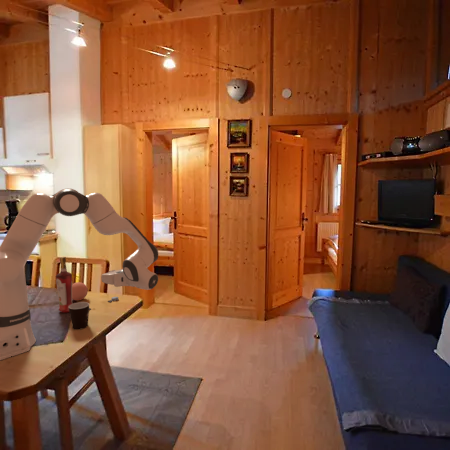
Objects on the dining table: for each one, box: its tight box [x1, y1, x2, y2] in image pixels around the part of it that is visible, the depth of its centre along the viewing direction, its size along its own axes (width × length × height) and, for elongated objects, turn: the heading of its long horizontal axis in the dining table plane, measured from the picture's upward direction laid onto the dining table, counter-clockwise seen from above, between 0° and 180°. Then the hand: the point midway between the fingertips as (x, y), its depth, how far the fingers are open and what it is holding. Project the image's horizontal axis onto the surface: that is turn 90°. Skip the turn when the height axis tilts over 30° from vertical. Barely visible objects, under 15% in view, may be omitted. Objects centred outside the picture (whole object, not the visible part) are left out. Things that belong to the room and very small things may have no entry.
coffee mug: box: [68, 301, 90, 331], centre depth 151 cm, size 12×9×10 cm
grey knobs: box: [89, 296, 119, 311], centre depth 176 cm, size 24×4×1 cm, turn 148°
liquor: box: [55, 256, 73, 314], centre depth 167 cm, size 7×7×28 cm
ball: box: [72, 281, 89, 301], centre depth 184 cm, size 10×10×10 cm
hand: (111, 272), depth 167 cm, fingers closed
